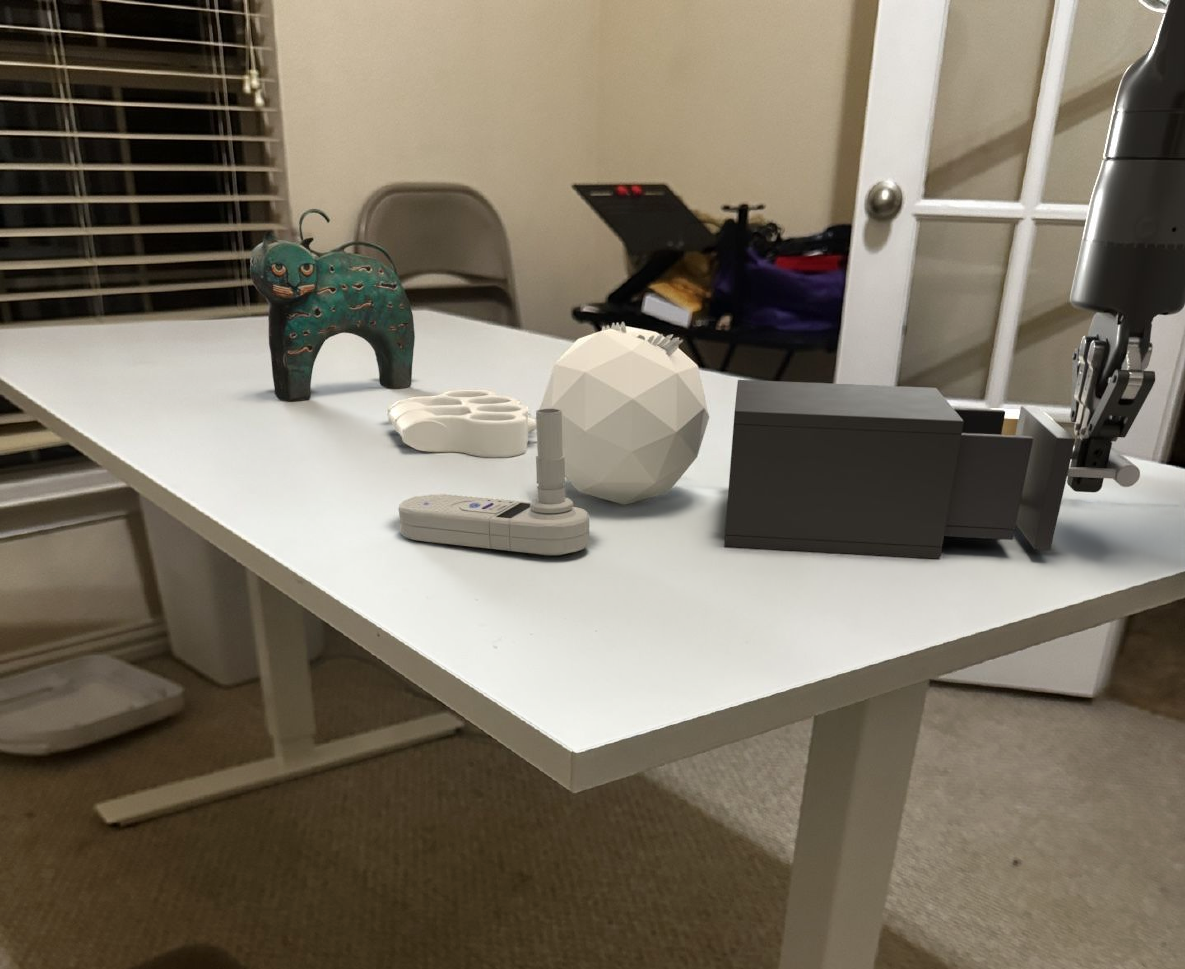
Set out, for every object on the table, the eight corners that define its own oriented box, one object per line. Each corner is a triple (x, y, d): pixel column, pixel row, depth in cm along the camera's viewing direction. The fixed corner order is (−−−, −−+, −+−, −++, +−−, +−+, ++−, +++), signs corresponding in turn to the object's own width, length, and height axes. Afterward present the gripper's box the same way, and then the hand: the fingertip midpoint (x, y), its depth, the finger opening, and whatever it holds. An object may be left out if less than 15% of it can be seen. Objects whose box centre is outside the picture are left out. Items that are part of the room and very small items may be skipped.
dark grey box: (917, 509, 95) (936, 387, 90) (940, 558, 83) (964, 420, 78) (728, 500, 96) (737, 379, 91) (724, 546, 84) (734, 410, 79)
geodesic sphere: (776, 424, 95) (688, 270, 93) (715, 456, 84) (614, 282, 81) (642, 512, 104) (559, 374, 102) (571, 552, 93) (477, 398, 90)
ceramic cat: (280, 404, 130) (259, 209, 120) (254, 396, 134) (231, 207, 124) (424, 388, 141) (415, 209, 132) (396, 381, 146) (385, 207, 136)
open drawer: (1089, 509, 92) (1112, 409, 88) (1134, 554, 81) (1162, 442, 77) (836, 496, 94) (849, 397, 90) (847, 538, 83) (861, 428, 79)
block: (1032, 462, 111) (1042, 410, 109) (1043, 474, 107) (1054, 420, 104) (980, 460, 112) (989, 408, 109) (989, 472, 107) (999, 417, 105)
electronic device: (413, 395, 84) (599, 406, 79) (424, 525, 89) (600, 543, 84) (374, 407, 80) (569, 420, 75) (388, 543, 84) (572, 563, 79)
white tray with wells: (384, 424, 121) (517, 419, 125) (409, 461, 106) (559, 455, 110) (382, 391, 120) (516, 387, 123) (407, 425, 104) (559, 419, 108)
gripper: (1234, 242, 71) (1161, 515, 79) (1168, 233, 83) (1110, 472, 91) (1110, 239, 72) (1051, 509, 80) (1062, 230, 83) (1014, 467, 92)
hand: (1082, 489), depth 86 cm, fingers closed
